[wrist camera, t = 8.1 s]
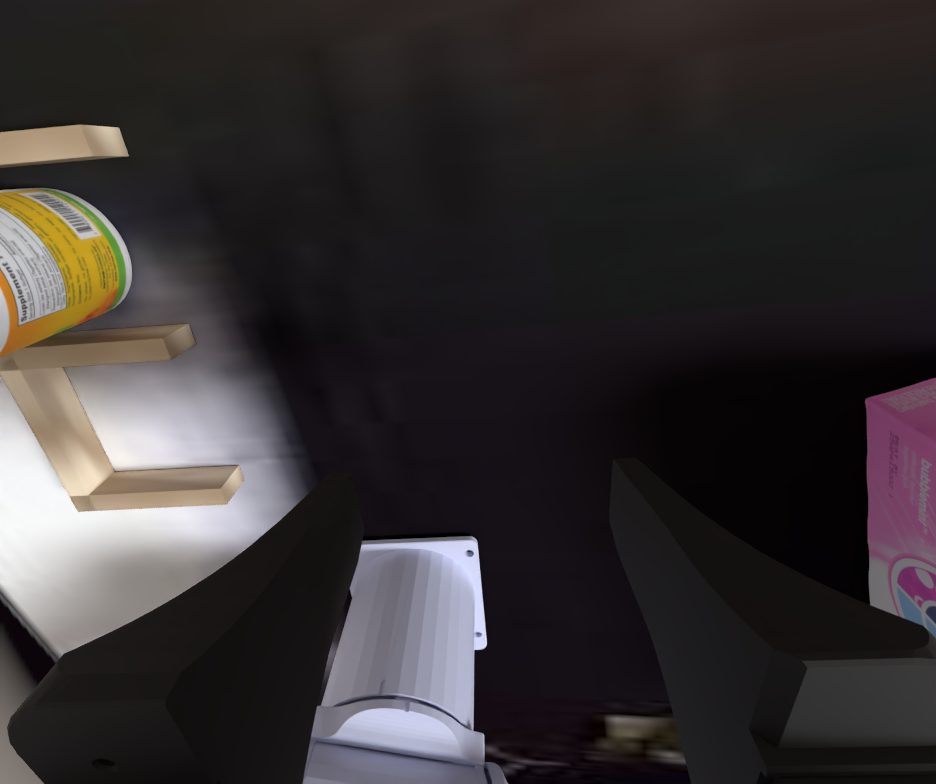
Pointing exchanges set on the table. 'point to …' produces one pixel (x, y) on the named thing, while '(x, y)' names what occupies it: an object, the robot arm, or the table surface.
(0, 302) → the supplement bottle
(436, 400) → the table surface
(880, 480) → the gum box
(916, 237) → the table surface
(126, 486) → the e-shaped wooden frame
